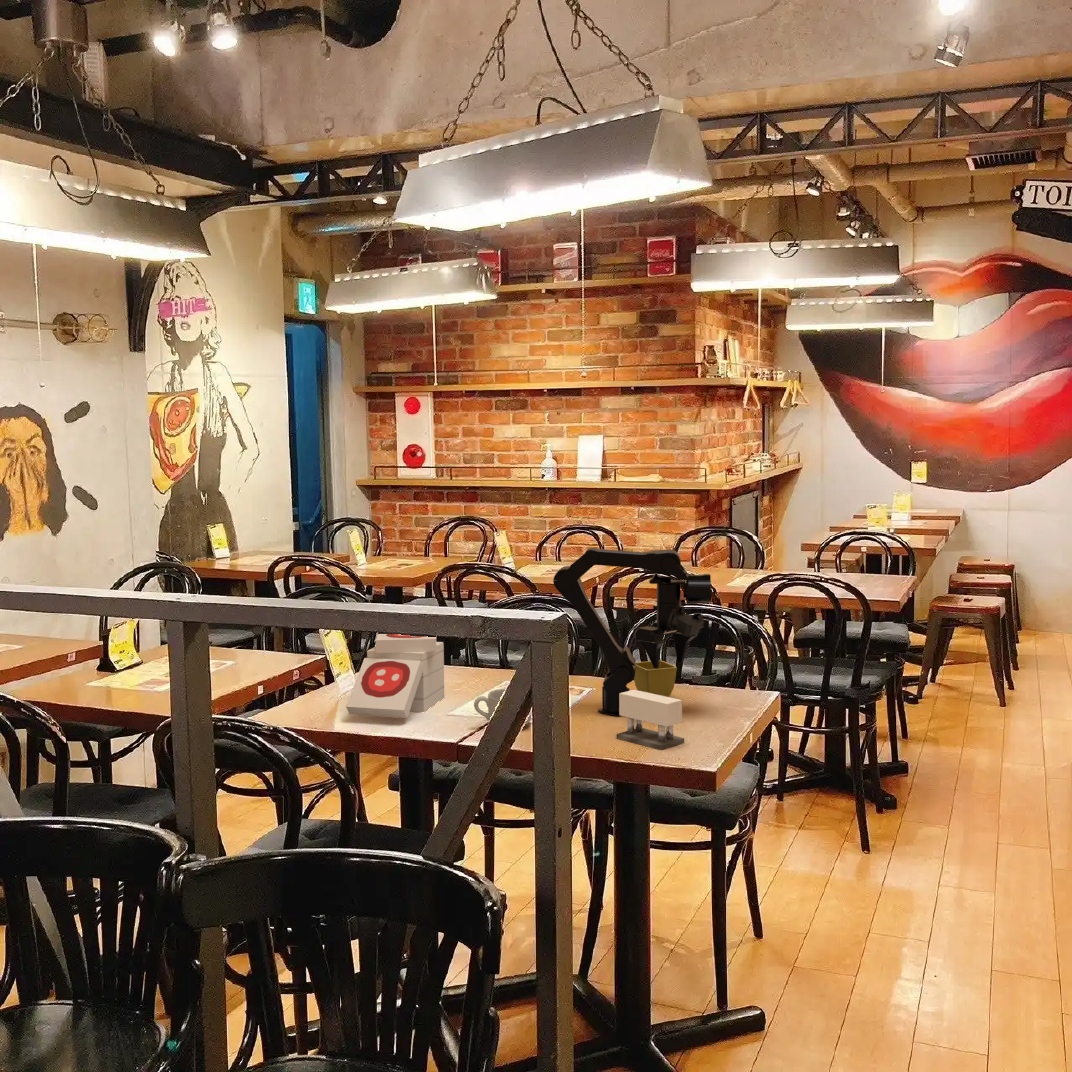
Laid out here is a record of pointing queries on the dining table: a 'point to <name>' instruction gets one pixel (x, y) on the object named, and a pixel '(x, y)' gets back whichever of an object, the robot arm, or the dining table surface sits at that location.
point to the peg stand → (649, 735)
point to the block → (650, 707)
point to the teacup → (491, 703)
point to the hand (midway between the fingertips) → (668, 665)
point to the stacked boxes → (399, 677)
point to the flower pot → (655, 678)
